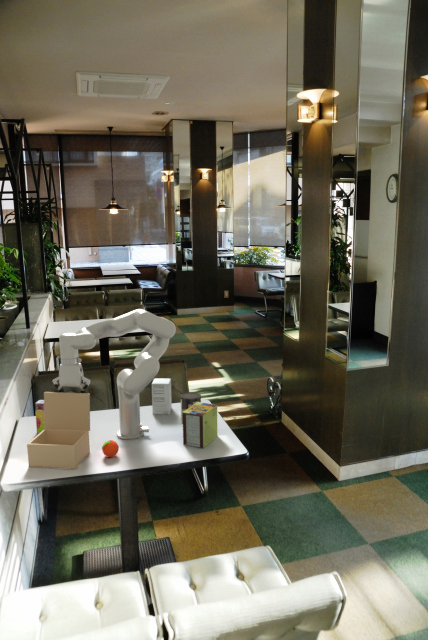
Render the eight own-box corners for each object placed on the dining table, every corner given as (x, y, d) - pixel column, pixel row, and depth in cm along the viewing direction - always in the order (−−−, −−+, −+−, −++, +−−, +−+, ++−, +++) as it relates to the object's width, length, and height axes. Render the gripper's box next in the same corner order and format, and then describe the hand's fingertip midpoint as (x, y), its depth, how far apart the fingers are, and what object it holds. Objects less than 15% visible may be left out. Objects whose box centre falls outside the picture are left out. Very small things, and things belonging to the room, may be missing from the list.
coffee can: (205, 423, 253) (204, 396, 251) (186, 427, 248) (186, 400, 246) (195, 417, 262) (194, 390, 260) (177, 421, 257) (176, 394, 254)
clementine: (106, 462, 212) (106, 446, 211) (97, 457, 217) (96, 441, 216) (122, 456, 218) (121, 440, 217) (112, 451, 223) (112, 435, 222)
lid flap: (89, 430, 220) (94, 426, 227) (88, 393, 219) (94, 390, 225) (44, 428, 223) (51, 424, 229) (43, 392, 222) (50, 389, 228)
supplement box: (154, 407, 276) (154, 378, 273) (171, 407, 276) (171, 378, 273) (152, 414, 266) (151, 383, 263) (169, 414, 266) (169, 383, 263)
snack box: (83, 429, 247) (81, 400, 244) (79, 434, 241) (77, 404, 239) (41, 428, 249) (39, 399, 246) (36, 433, 244) (33, 403, 241)
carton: (89, 452, 222) (88, 430, 220) (75, 469, 206) (74, 446, 204) (46, 450, 224) (44, 428, 223) (28, 467, 209) (27, 444, 207)
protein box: (217, 435, 238) (217, 404, 236) (203, 448, 225) (203, 415, 222) (197, 432, 243) (197, 401, 240) (182, 444, 229) (181, 412, 226)
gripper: (91, 359, 226) (94, 395, 229) (54, 358, 228) (57, 395, 231) (85, 363, 219) (88, 401, 222) (47, 363, 221) (50, 400, 224)
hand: (72, 398), depth 227 cm, fingers open, 9 cm apart
